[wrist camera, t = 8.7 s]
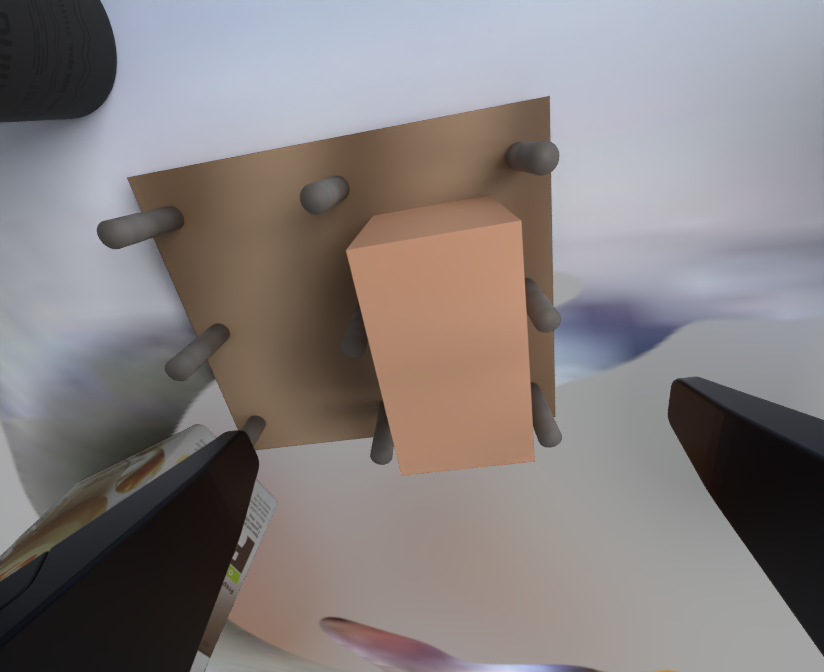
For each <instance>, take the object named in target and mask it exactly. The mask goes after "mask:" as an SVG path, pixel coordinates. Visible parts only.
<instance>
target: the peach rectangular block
mask: <svg viewBox="0 0 824 672" xmlns="http://www.w3.org/2000/svg"><path fill="white" fill-rule="evenodd" d="M346 252H347V256H348V260H349V264H350V268H351V273H352V277H353V281H354V285H355V289H356V293H357V297H358V301H359V305H360V309H361V313H362V317H363V321H364V325H365V329H366V333H367V337H368V341H369V346H370V350H371V354H372V358H373V362H374V366H375V370H376V374H377V378H378V382H379V386H380V390H381V394H382V398H383V402H384V406H385V410H386V415H387V419H388V423H389V427H390V431H391V435H392V439H393V443H394V447H395V451H396V455H397V459H398V463H399V467H400V471H401V475H410V474H420V473H429V472H439V471H447V470H448V471H449V470H458V469H468V468H477V467H487V466H496V465H505V464H515V463H524V462H533V461H535V455H534V437H533V419H532V401H531V383H530V365H529V348H528V330H527V312H526V294H525V277H524V259H523V241H522V223H521V220H520V219H519V218H518V217H516V216H515V215H514V214H513V213H511V212H510V211H509V210H508V209H506V208H505V207H504V206H503V205H501V204H500V203H499V202H498V201H496V200H495V199H494V198H493V197H491V196H490V195H488V196H482V197H476V198H471V199H465V200H459V201H454V202H448V203H443V204H437V205H431V206H426V207H420V208H414V209H409V210H403V211H397V212H392V213H386V214H380V215H375V216H372V218H371V219H370V220H369V222H368V223H367V224H366V225H365V227H364V228H363V229H362V230H361V232H360V233H359V234H358V235H357V237H356V238H355V239H354V241H353V242H352V243H351V244H350V246H349V247H348V248H347V249H346Z"/></svg>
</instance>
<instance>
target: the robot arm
mask: <svg viewBox="0 0 824 672" xmlns="http://www.w3.org/2000/svg"><path fill="white" fill-rule="evenodd" d="M668 419H669V422H670V425H671V427H672V428H673V430H674V432H675V434H676V436H677V438H678V439H679V441H680V443H681V445H682V446H683V448H684V450H685V452H686V454H687V456H688V457H689V459H690V461H691V462H692V465H693V466H694V468H695V470H696V472H697V474H698V475H699V477H700V479H701V481H702V482H703V484H704V486H705V487H706V489H707V490H708V492H709V494H710V495H711V497H712V498H713V500H714V501H715V503H716V504H717V506H718V507H719V509H720V510H721V511H722V513H723V514H724V516H725V517H726V518H727V520H728V521H729V523H730V524H731V526H732V527H733V528H734V530H735V531H736V533H737V534H738V536H739V537H740V538H741V540H742V541H743V543H744V544H745V545H746V547H747V548H748V550H749V551H750V552H751V554H752V555H753V557H754V558H755V560H756V561H757V562H758V564H759V565H760V567H761V568H762V569H763V571H764V572H765V574H766V575H767V577H768V578H769V580H770V581H771V582H772V584H773V585H774V587H775V588H776V589H777V591H778V592H779V594H780V595H781V597H782V598H783V600H784V601H785V602H786V604H787V605H788V606H789V608H790V609H791V611H792V612H793V614H794V615H795V616H796V618H797V619H798V621H799V622H800V624H801V625H802V626H803V628H804V629H805V631H806V632H807V634H808V635H809V636H810V638H811V639H812V641H813V642H814V644H815V645H816V646H817V648H818V649H819V651H820V652H821V653H822V655H823V656H824V420H822V419H819V418H816V417H814V416H811V415H808V414H805V413H802V412H799V411H796V410H793V409H790V408H787V407H784V406H781V405H779V404H776V403H773V402H770V401H767V400H764V399H761V398H758V397H755V396H752V395H750V394H746V393H744V392H741V391H738V390H735V389H732V388H729V387H726V386H723V385H720V384H718V383H715V382H712V381H709V380H706V379H703V378H700V377H688V378H679V379H676V380H674V381H673V383H672V385H671V392H670V399H669V407H668ZM258 469H259V460H258V456H257V454H256V451H255V449H254V447H253V444H252V442H251V440H250V437H249V435H248V433H247V432H246V431H244V430H236V431H228V432H225V433H223V434H222V435H220V436H219V437H217V438H216V439H214V440H213V441H211V442H210V443H208V444H207V445H205V446H203V447H202V448H200V449H199V450H197V451H196V452H194V453H193V454H191V455H190V456H188V457H187V458H185V459H184V460H182V461H181V462H179V463H178V464H176V465H175V466H173V467H172V468H170V469H169V470H167V471H166V472H164V473H163V474H161V475H160V476H158V477H157V478H155V479H154V480H152V481H151V482H149V483H148V484H146V485H145V486H143V487H142V488H140V489H139V490H137V491H136V492H134V493H133V494H131V495H130V496H128V497H127V498H125V499H124V500H122V501H121V502H119V503H118V504H116V505H115V506H113V507H112V508H110V509H109V510H107V511H106V512H104V513H103V514H101V515H100V516H98V517H97V518H95V519H94V520H92V521H91V522H89V523H88V524H86V525H85V526H83V527H82V528H80V529H79V530H77V531H76V532H74V533H73V534H71V535H70V536H68V537H67V538H65V539H64V540H62V541H61V542H59V543H58V544H56V545H55V546H53V547H52V548H51V549H50V550H49V551H46V552H44V553H42V554H41V555H39V556H38V557H36V558H35V559H33V560H32V561H30V562H29V563H27V564H26V565H24V566H23V567H21V568H20V569H18V570H17V571H15V572H14V573H12V574H10V575H9V576H7V577H6V578H4V579H3V580H1V581H0V672H190V671H191V668H192V665H193V663H194V660H195V657H196V654H197V652H198V649H199V646H200V644H201V641H202V638H203V636H204V633H205V630H206V628H207V625H208V622H209V620H210V617H211V614H212V612H213V609H214V606H215V604H216V601H217V598H218V596H219V593H220V590H221V587H222V585H223V582H224V579H225V577H226V574H227V571H228V569H229V566H230V563H231V561H232V558H233V555H234V553H235V550H236V547H237V544H238V542H239V539H240V536H241V533H242V529H243V526H244V523H245V519H246V515H247V511H248V507H249V504H250V500H251V496H252V492H253V488H254V485H255V481H256V477H257V473H258Z"/></svg>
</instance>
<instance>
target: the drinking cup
mask: <svg viewBox="0 0 824 672" xmlns="http://www.w3.org/2000/svg"><path fill="white" fill-rule="evenodd" d="M116 64H117V56H116V46H115V40H114V35H113V31H112V28H111V25H110V21H109V19H108V16H107V14H106V11H105V9H104V7H103V5H102V3H101V1H100V0H0V123H1V122H20V121H39V120H58V119H73V118H78V117H82V116H85V115H87V114H89V113H91V112H93V111H94V110H96V109H97V108H98V107H99V106H100V105H101V104H102V103H103V102H104V101H105V99H106V98H107V96H108V95H109V93H110V91H111V88H112V86H113V83H114V79H115V74H116Z"/></svg>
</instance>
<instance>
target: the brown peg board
mask: <svg viewBox="0 0 824 672" xmlns="http://www.w3.org/2000/svg"><path fill="white" fill-rule="evenodd" d="M558 161H559V151H558V148H557V147H556V145H555V144H553V143H552V142H550V96H547V97H542V98H537V99H532V100H527V101H521V102H516V103H511V104H506V105H501V106H496V107H490V108H485V109H480V110H475V111H470V112H465V113H459V114H454V115H449V116H444V117H439V118H433V119H428V120H423V121H418V122H413V123H408V124H402V125H397V126H392V127H387V128H382V129H376V130H371V131H366V132H361V133H356V134H351V135H345V136H340V137H335V138H330V139H325V140H319V141H314V142H309V143H304V144H299V145H294V146H288V147H283V148H278V149H273V150H268V151H263V152H257V153H252V154H247V155H242V156H237V157H231V158H226V159H221V160H216V161H211V162H206V163H200V164H195V165H190V166H185V167H180V168H174V169H169V170H164V171H159V172H154V173H149V174H143V175H138V176H133V177H128V178H127V179H128V181H129V183H130V186H131V188H132V190H133V193H134V195H135V197H136V199H137V202H138V204H139V206H140V208H141V211H142V212H141V213H136V214H132V215H128V216H123V217H119V218H115V219H110V220H106V221H102V222H101V223H100V224H99V225H98V227H97V234H98V237H99V239H100V240H101V241H102V243H103V244H105V245H106V246H107V247H109V248H112V249H120V248H123V247H126V246H129V245H132V244H135V243H138V242H141V241H144V240H147V239H150V238H154V240H155V242H156V245H157V247H158V249H159V252H160V254H161V256H162V258H163V261H164V263H165V265H166V267H167V270H168V272H169V274H170V276H171V279H172V281H173V283H174V286H175V288H176V290H177V292H178V295H179V297H180V299H181V301H182V304H183V306H184V308H185V310H186V313H187V315H188V317H189V320H190V322H191V324H192V326H193V329H194V331H195V333H196V335H197V338H196V339H195V340H194V341H193V342H191V343H190V344H189V345H188V346H187V347H185V348H184V349H183V350H182V351H181V352H179V353H178V354H177V355H176V356H175V357H173V358H172V359H171V360H170V361H169V362H167V363H166V365H165V371H166V373H167V375H168V376H169V377H170V378H172V379H174V380H176V381H184V380H186V379H188V378H189V377H190V376H191V375H192V374H193V373H194V372H195V371H196V370H197V369H198V368H199V367H200V366H201V365H202V364H203V363H204V362H205V361H206V360H208V363H209V365H210V367H211V369H212V372H213V374H214V376H215V379H216V381H217V383H218V385H219V388H220V390H221V392H222V394H223V397H224V399H225V401H226V403H227V406H228V408H229V410H230V412H231V415H232V417H233V419H234V422H235V424H236V426H237V428H238V430H244V431H246V432H247V433H248V435H249V437H250V440H251V442H252V444H253V447H254V449H255V450H260V449H270V448H279V447H288V446H297V445H305V444H315V443H324V442H333V441H342V440H351V439H360V438H369V437H374V438H373V443H372V449H371V454H370V457H371V459H372V461H374V462H375V463H377V464H381V465H384V464H387V463H389V462H390V461H391V460H392V455H393V447H394V443H393V439H392V435H391V431H390V427H389V423H388V419H387V415H386V410H385V406H384V402H383V398H382V394H381V390H380V386H379V382H378V378H377V374H376V370H375V366H374V362H373V358H372V354H371V350H370V346H369V341H368V337H367V333H366V329H365V325H364V321H363V317H362V313H361V309H360V305H359V301H358V297H357V293H356V289H355V285H354V281H353V277H352V273H351V268H350V264H349V260H348V256H347V252H346V249H347V248H348V247H349V246H350V244H351V243H352V242H353V241H354V239H355V238H356V237H357V235H358V234H359V233H360V232H361V230H362V229H363V228H364V227H365V225H366V224H367V223H368V222H369V220H370V219H371V218H372V216H375V215H380V214H386V213H392V212H397V211H403V210H409V209H414V208H420V207H426V206H431V205H437V204H443V203H448V202H454V201H459V200H465V199H471V198H476V197H482V196H488V195H490V196H491V197H493V198H494V199H495V200H496V201H498V202H499V203H500V204H501V205H503V206H504V207H505V208H506V209H508V210H509V211H510V212H511V213H513V214H514V215H515V216H516V217H518V218H519V219H520V220H521V223H522V241H523V259H524V277H525V294H526V312H527V330H528V348H529V365H530V383H531V401H532V419H533V427H534V430H535V433H536V435H537V438H538V441H539V443H540V444H541V445H542V446H544V447H554V446H556V445H558V444H559V443H560V442H561V440H562V435H561V433H560V431H559V428H558V426H557V424H556V422H555V420H554V417H555V372H554V330H555V329H556V328H557V327H558V326H559V324H560V322H561V316H560V314H559V312H558V311H557V310H556V309H555V307H554V306H553V261H552V206H551V172H552V171H553V170H554V169H555V167H556V166H557V164H558Z"/></svg>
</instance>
